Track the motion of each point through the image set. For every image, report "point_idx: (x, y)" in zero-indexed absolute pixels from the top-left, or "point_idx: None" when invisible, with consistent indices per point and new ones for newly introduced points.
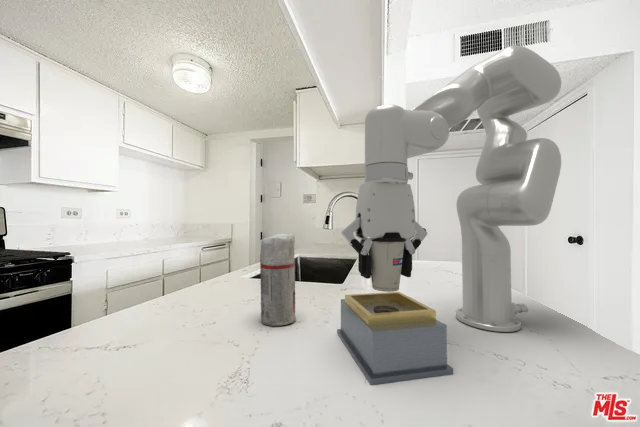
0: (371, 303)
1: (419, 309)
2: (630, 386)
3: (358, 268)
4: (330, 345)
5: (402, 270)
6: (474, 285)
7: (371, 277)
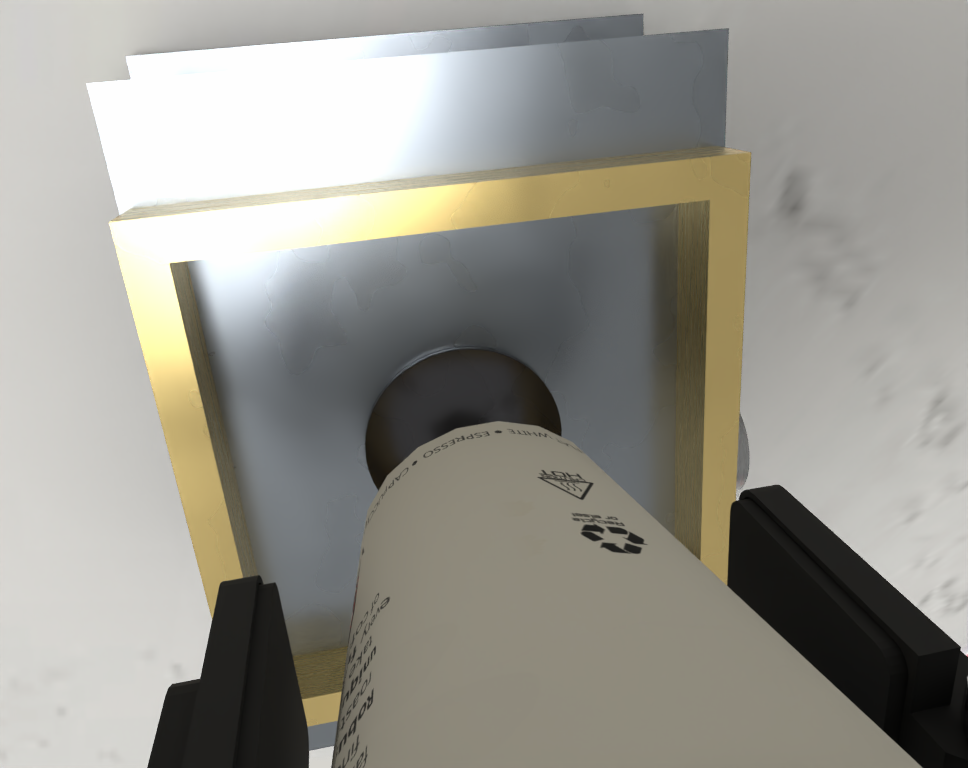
0: (399, 258)
1: (687, 513)
2: None
3: (166, 698)
4: (77, 252)
5: (752, 603)
6: None
7: (355, 594)
